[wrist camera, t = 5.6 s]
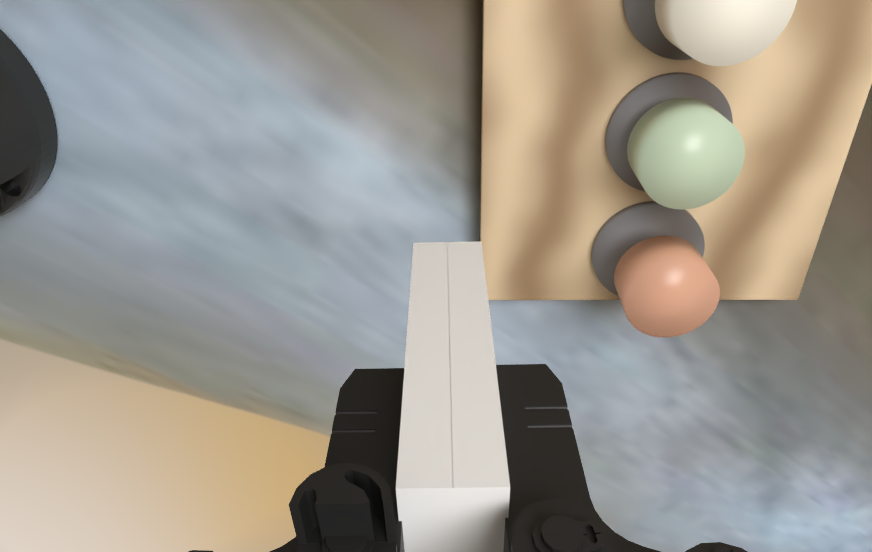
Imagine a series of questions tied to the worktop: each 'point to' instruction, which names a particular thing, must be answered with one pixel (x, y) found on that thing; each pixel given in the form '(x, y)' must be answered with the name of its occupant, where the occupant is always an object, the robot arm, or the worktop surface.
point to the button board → (613, 123)
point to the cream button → (723, 27)
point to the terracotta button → (666, 286)
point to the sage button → (685, 153)
